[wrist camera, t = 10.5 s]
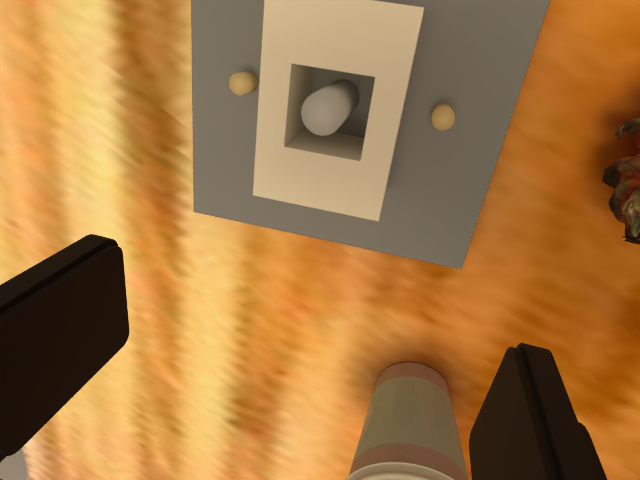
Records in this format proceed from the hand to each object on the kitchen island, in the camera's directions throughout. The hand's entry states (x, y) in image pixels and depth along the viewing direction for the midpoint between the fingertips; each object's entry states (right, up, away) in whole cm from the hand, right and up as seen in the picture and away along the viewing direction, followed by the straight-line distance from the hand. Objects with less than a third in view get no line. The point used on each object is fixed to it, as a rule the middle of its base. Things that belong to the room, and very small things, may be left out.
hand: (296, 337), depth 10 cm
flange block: (+2, +11, +15) cm, 18 cm away
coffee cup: (+8, -10, +25) cm, 28 cm away
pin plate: (+2, +11, +16) cm, 20 cm away
